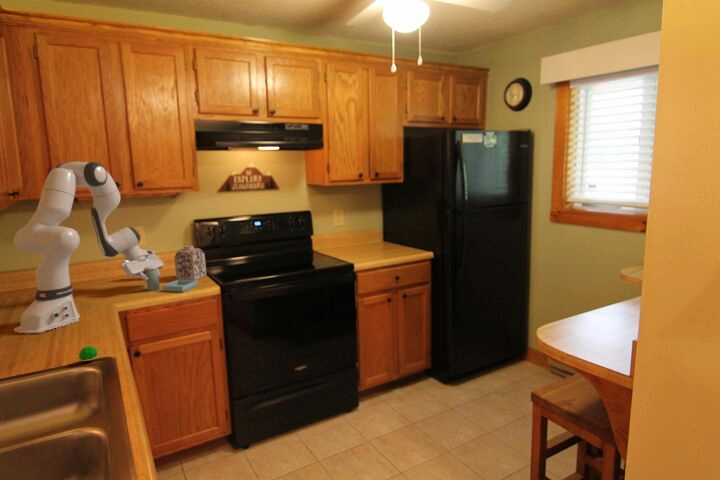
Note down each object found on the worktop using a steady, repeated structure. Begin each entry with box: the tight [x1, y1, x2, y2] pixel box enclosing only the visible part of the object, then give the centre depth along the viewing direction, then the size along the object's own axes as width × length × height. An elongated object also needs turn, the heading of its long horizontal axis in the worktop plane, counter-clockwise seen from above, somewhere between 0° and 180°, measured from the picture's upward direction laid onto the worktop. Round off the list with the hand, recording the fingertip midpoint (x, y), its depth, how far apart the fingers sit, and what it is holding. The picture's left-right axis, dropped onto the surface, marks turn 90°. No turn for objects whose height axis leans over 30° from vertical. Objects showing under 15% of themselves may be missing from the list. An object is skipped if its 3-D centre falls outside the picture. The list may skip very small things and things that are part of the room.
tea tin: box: [145, 266, 161, 292], centre depth 226 cm, size 6×6×12 cm
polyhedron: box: [78, 345, 99, 361], centre depth 143 cm, size 5×5×5 cm
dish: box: [162, 279, 199, 293], centre depth 226 cm, size 12×12×3 cm
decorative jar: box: [174, 244, 207, 281], centre depth 248 cm, size 12×12×18 cm
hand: (153, 278), depth 225 cm, fingers closed on tea tin, 5 cm apart
